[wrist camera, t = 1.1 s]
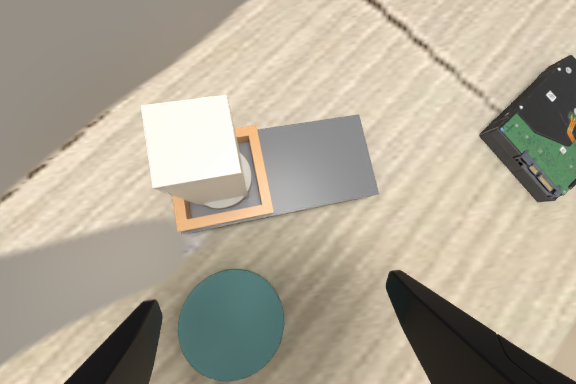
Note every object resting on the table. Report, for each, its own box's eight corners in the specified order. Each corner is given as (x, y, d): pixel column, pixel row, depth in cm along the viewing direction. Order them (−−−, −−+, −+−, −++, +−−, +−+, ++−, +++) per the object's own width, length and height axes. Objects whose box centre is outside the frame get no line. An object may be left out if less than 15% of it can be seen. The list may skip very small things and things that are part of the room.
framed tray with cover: (188, 233, 22) (175, 234, 19) (174, 150, 23) (160, 136, 20) (369, 196, 25) (387, 191, 22) (351, 123, 26) (365, 107, 22)
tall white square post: (195, 214, 21) (140, 203, 11) (186, 155, 21) (125, 95, 11) (256, 202, 21) (255, 182, 12) (245, 146, 22) (236, 82, 12)
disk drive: (542, 67, 31) (474, 137, 28) (570, 52, 28) (497, 127, 25) (598, 128, 31) (535, 205, 28) (632, 118, 28) (566, 202, 25)
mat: (258, 392, 21) (258, 397, 21) (161, 354, 21) (158, 358, 20) (298, 291, 23) (299, 293, 22) (208, 253, 22) (207, 254, 22)
